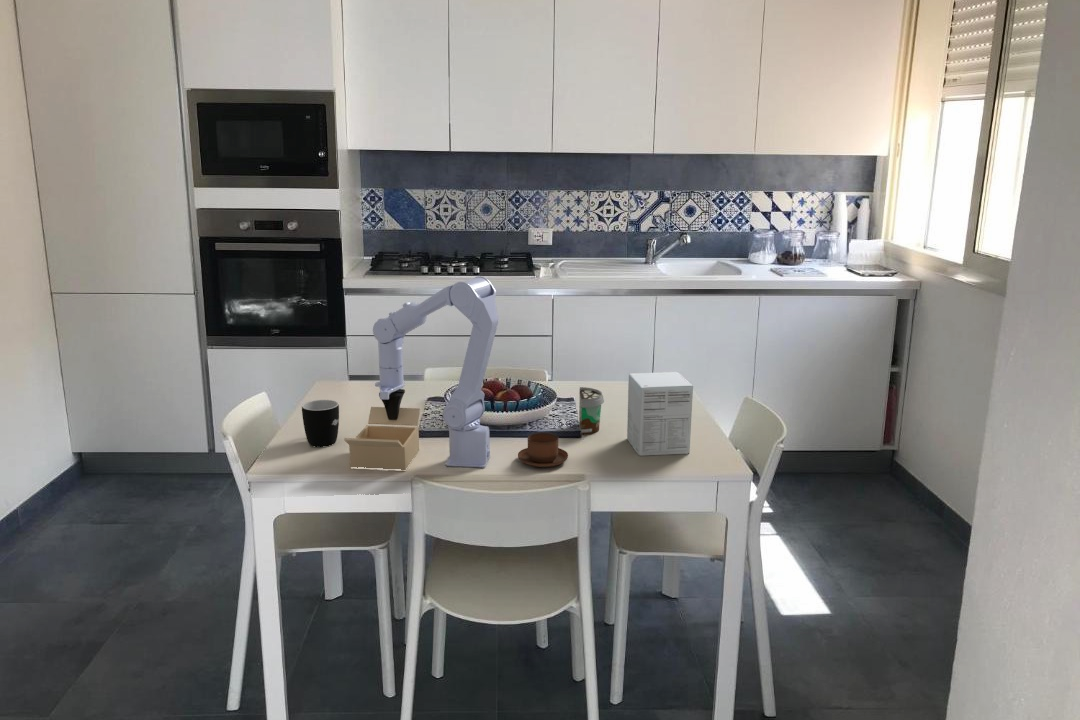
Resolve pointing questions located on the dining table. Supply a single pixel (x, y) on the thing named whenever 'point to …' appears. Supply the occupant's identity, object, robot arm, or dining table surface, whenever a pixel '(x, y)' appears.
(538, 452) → the cup and saucer
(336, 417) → the mug
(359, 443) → the near flap
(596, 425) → the food container
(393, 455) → the carton
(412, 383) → the dining table surface
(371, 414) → the far flap
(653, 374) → the supplement box
